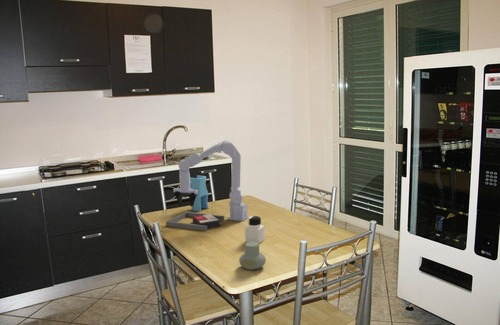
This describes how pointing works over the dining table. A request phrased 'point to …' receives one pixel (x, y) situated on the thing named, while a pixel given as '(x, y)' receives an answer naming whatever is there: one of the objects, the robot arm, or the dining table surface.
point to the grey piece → (174, 223)
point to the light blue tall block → (199, 193)
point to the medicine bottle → (254, 230)
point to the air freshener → (252, 257)
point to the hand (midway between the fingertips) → (186, 205)
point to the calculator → (207, 221)
